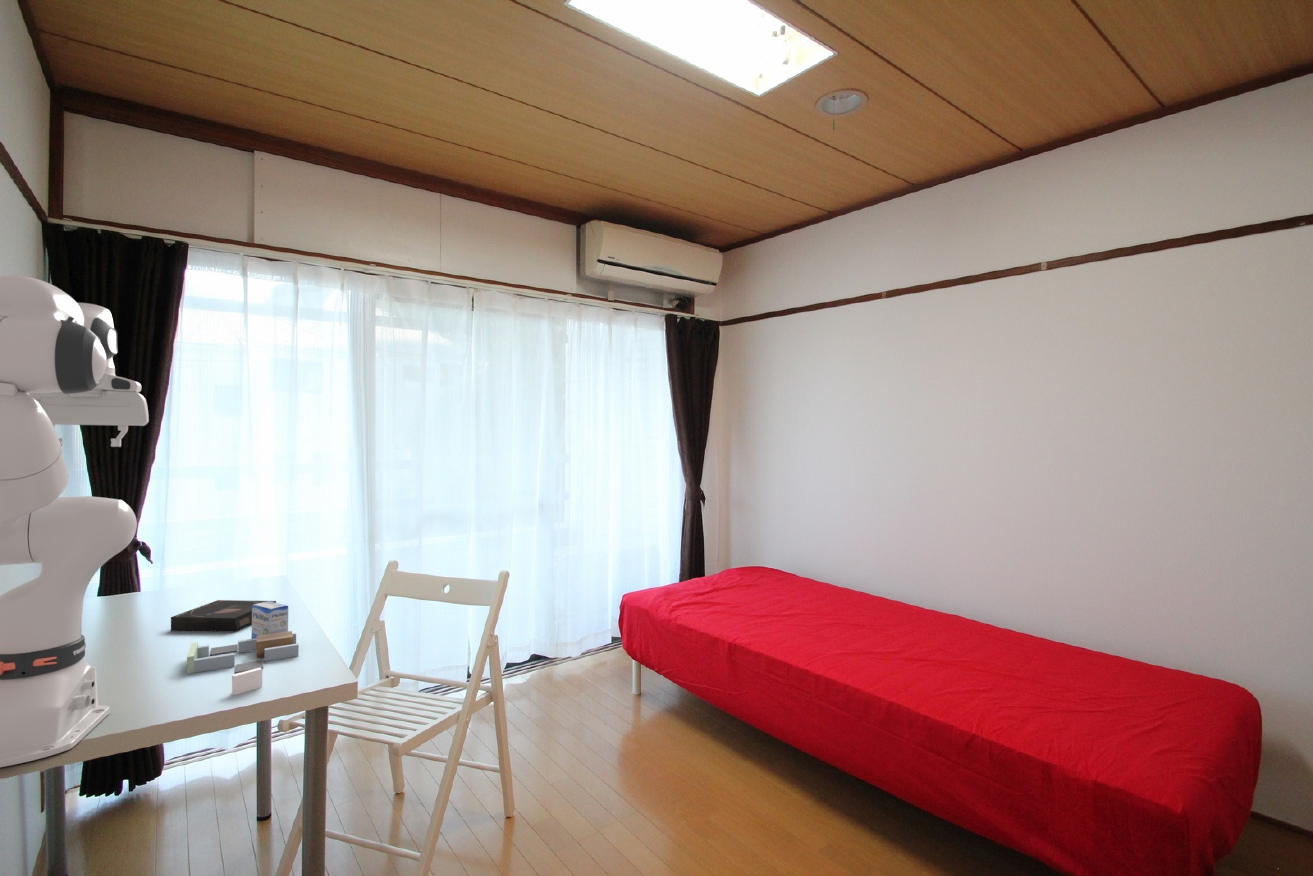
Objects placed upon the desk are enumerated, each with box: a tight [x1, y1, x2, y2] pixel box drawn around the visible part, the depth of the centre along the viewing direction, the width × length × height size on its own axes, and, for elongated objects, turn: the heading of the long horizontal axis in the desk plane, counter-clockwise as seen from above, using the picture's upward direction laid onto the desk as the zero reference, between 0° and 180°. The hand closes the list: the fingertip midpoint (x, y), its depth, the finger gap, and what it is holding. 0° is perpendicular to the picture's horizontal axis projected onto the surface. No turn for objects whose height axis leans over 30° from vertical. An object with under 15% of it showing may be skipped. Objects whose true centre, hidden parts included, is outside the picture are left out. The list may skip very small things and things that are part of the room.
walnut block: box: [255, 630, 293, 660], centre depth 142 cm, size 5×7×4 cm
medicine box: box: [250, 602, 289, 639], centre depth 151 cm, size 8×4×9 cm, turn 62°
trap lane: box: [186, 632, 299, 675], centre depth 139 cm, size 20×20×4 cm
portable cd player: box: [170, 599, 277, 633], centre depth 166 cm, size 16×17×4 cm
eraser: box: [231, 668, 263, 696], centre depth 122 cm, size 1×5×4 cm, turn 142°
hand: (86, 446), depth 132 cm, fingers open, 8 cm apart
